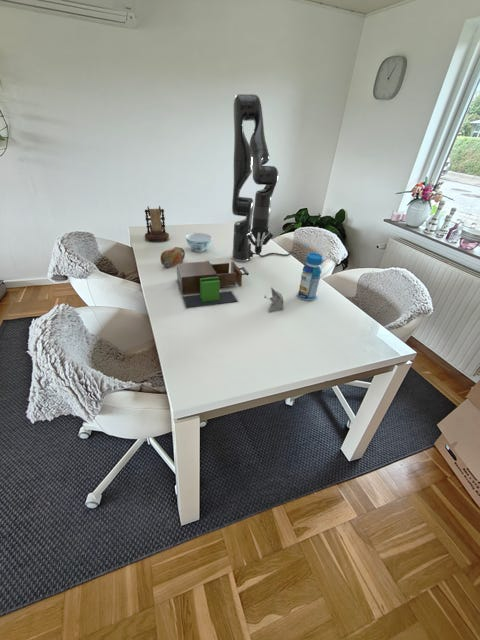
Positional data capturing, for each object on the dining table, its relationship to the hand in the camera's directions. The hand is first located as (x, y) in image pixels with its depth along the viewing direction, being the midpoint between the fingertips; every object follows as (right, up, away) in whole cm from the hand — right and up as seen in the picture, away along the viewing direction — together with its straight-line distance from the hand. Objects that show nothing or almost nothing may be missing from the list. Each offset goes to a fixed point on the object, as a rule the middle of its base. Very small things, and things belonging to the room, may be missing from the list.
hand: (257, 253), depth 143 cm
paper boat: (+6, -25, -12) cm, 29 cm away
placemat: (-22, -23, -11) cm, 33 cm away
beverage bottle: (+22, -21, -4) cm, 31 cm away
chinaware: (-33, +10, +37) cm, 50 cm away
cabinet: (-29, -15, -1) cm, 33 cm away
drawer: (-15, -13, +3) cm, 20 cm away
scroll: (-61, +20, +48) cm, 80 cm away
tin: (-44, -2, +17) cm, 48 cm away
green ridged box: (-22, -22, -11) cm, 33 cm away
